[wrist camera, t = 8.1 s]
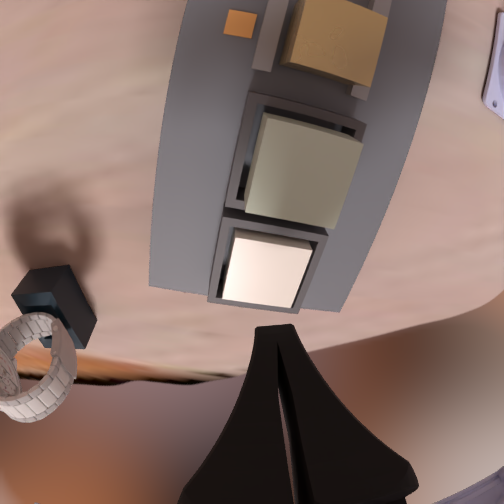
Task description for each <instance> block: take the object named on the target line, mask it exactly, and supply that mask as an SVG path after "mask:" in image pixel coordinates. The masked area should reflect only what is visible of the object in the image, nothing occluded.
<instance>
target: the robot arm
mask: <svg viewBox="0 0 504 504" xmlns="http://www.w3.org/2000/svg"><path fill="white" fill-rule="evenodd" d="M493 102H494V103H493ZM483 103H484V105H485V106H486V107H487V108H489V109H490V110H492V111H493V112H494V113H496V114H497V115H498V116H500V117H501V118H502V119H504V12H499V13H498V18H497V26H496V34H495V40H494V47H493V52H492V58H491V63H490V68H489V73H488V77H487V82H486V86H485V90H484V94H483ZM492 103H493V104H492ZM278 389H279V394H280V398H281V403H282V408H283V413H284V418H285V422H286V427H287V431H288V438H289V443H290V454H291V465H292V475H293V486H294V498H295V504H407V503H406V499H405V497H406V496H408V495H409V494H411V493H412V492H414V491H415V490H417V489H418V487H419V484H418V480H417V477H416V475H415V473H414V470H413V468H412V466H411V465H410V463H409V462H408V461H407V460H405V459H404V458H403V457H401V456H400V455H398V454H397V453H396V452H394V451H393V450H392V449H390V448H389V447H388V446H387V445H385V444H384V443H383V442H382V441H380V440H379V439H378V438H377V437H376V436H374V435H373V434H372V433H371V432H370V431H369V430H368V429H367V428H366V427H365V426H364V425H363V424H362V423H361V422H360V421H359V420H357V418H356V417H355V416H354V415H353V414H352V413H351V412H350V411H349V410H348V409H347V408H346V407H345V405H344V404H343V403H342V402H341V401H340V400H339V398H338V397H337V396H336V395H335V393H334V392H333V391H332V390H331V388H330V387H329V385H328V384H327V383H326V381H325V380H324V379H323V377H322V376H321V374H320V373H319V371H318V370H317V368H316V367H315V365H314V363H313V362H312V360H311V359H310V357H309V355H308V354H307V352H306V350H305V348H304V346H303V344H302V343H301V341H300V339H299V336H298V334H297V332H296V330H295V327H294V325H292V324H283V325H272V326H259V327H257V328H255V337H254V345H253V351H252V355H251V360H250V363H249V367H248V370H247V374H246V377H245V380H244V383H243V386H242V388H241V391H240V394H239V397H238V399H237V401H236V404H235V406H234V409H233V411H232V413H231V415H230V417H229V419H228V421H227V423H226V425H225V427H224V429H223V431H222V433H221V435H220V436H219V438H218V440H217V441H216V443H215V445H214V446H213V448H212V450H211V451H210V453H209V454H208V456H207V457H206V459H205V460H204V462H203V463H202V465H201V466H200V467H199V469H198V470H197V471H196V473H195V474H194V475H193V477H192V478H191V479H190V480H189V482H188V483H187V484H186V485H185V487H184V488H183V491H182V493H181V495H180V498H179V500H178V503H177V504H294V502H293V496H292V490H291V484H290V477H289V471H288V464H287V457H286V450H285V444H284V437H283V429H282V422H281V415H280V406H279V399H278ZM34 504H39V503H34ZM433 504H504V466H503V467H502V468H500V469H499V470H498V471H497V472H495V473H493V474H492V475H490V476H488V477H486V478H485V479H483V480H481V481H479V482H477V483H475V484H474V485H472V486H470V487H468V488H466V489H464V490H462V491H460V492H458V493H455V494H453V495H451V496H449V497H447V498H445V499H442V500H440V501H438V502H436V503H433Z"/></svg>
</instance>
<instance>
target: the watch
mask: <svg viewBox="0 0 504 504" xmlns="http://www.w3.org/2000/svg"><path fill="white" fill-rule="evenodd" d="M11 296H12V298H13V299H14V301H15V303H16V304H17V306H18V308H19V309H20V311H21V313H22V314H23V315H22V316H20V317H18V318H16V319H14V320H12V321H11V323H10V322H9V323H8V324H6V325H5V326H4V327H2V329H1V330H0V411H4V412H5V413H6V414H7V415H8V416H9V417H10V418H12V419H13V420H16V421H19V422H34V421H37V419H38V420H40V419H42V418H44V417H46V416H48V414H50V413H52V412H53V411H54V410H55V409H56V408H57V407H58V406H57V405H60V404H61V403H62V402H63V401H64V399H65V398H66V395H68V393H69V391H70V389H71V385H72V384H73V379H76V375H77V356H76V351H75V349H85V348H86V346H87V343H88V341H89V339H90V336H91V334H92V331H93V329H94V327H95V324H96V322H97V320H96V318H95V316H94V314H93V312H92V310H91V308H90V307H89V305H88V303H87V301H86V299H85V297H84V295H83V293H82V291H81V289H80V287H79V285H78V283H77V281H76V278H75V276H74V274H73V272H72V270H71V268H70V266H69V265H64V266H57V267H49V268H42V269H35V270H29V272H28V273H27V274H26V276H25V277H24V278H23V279H22V281H21V282H20V283H19V285H18V286H17V287H16V289H15V290H14V292H13V293H12V294H11ZM11 324H12V325H11ZM2 330H3V331H2ZM8 332H9V333H8ZM9 334H10V335H11V336H10V335H9ZM23 335H24V336H23ZM11 337H12V338H13V339H12V338H11ZM37 338H38V339H39V340H40V342H41V343H42V344H43V346H44V347H45V348H51V353H50V354H51V356H52V357H53V358H52V362H51V365H50V369H49V371H48V372H47V374H48V375H45V376H44V378H43V379H42V380H41V381H40V382H39V385H35V386H34V387H33V388H31V389H29V390H28V392H24V393H22V387H21V383H20V380H19V376H18V373H17V360H16V359H15V358H13V357H14V356H15V355H16V354H17V351H19V350H21V349H22V348H23V347H24V346H25V344H28V343H30V342H31V341H33V339H34V340H35V339H37ZM14 341H15V342H16V343H15V342H14ZM24 343H25V344H24ZM15 348H16V349H15ZM47 387H48V388H49V389H48V388H47ZM65 394H66V395H65ZM55 396H56V397H55Z"/></svg>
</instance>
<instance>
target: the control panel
mask: <svg viewBox="0 0 504 504" xmlns="http://www.w3.org/2000/svg"><path fill="white" fill-rule="evenodd" d="M347 1H349V2H352V3H354V4H357V5H360V6H362V7H364V8H367V9H369V10H372V11H374V12H376V13H379V14H381V15H383V16H385V17H387V18H388V20H387V25H386V29H385V33H384V37H383V41H382V45H381V49H380V53H379V57H378V61H377V65H376V69H375V72H374V76H373V80H372V83H371V87H364V86H357V85H349V84H343V83H340V82H337V81H334V80H331V79H328V78H324V77H321V76H318V75H314V74H311V73H307V72H304V71H300V70H297V69H293V68H289V67H285V66H281V65H279V62H280V58H281V54H282V50H283V46H284V42H285V39H286V35H287V31H288V27H289V23H290V19H291V15H292V12H293V8H294V5H295V4H296V3H297V2H298V0H188V1H187V5H186V9H185V13H184V17H183V20H182V25H181V29H180V33H179V37H178V42H177V46H176V51H175V55H174V60H173V65H172V70H171V75H170V80H169V86H168V91H167V97H166V103H165V109H164V115H163V122H162V129H161V136H160V143H159V151H158V159H157V168H156V177H155V187H154V198H153V210H152V224H151V241H150V262H149V286H152V287H158V288H163V289H169V290H175V291H181V292H188V293H194V294H200V295H207V296H208V299H207V302H210V303H217V304H224V305H231V306H238V307H245V308H253V309H260V310H268V311H276V312H285V313H293V314H298V313H299V310H300V308H303V309H312V310H321V311H331V312H340V311H341V309H342V307H343V305H344V303H345V301H346V299H347V297H348V295H349V293H350V291H351V289H352V287H353V284H354V282H355V280H356V278H357V276H358V274H359V272H360V270H361V268H362V265H363V263H364V261H365V259H366V257H367V255H368V252H369V250H370V248H371V246H372V243H373V241H374V239H375V236H376V234H377V232H378V229H379V227H380V225H381V222H382V220H383V218H384V215H385V213H386V210H387V208H388V205H389V203H390V200H391V198H392V195H393V193H394V190H395V187H396V185H397V182H398V179H399V177H400V174H401V171H402V168H403V166H404V163H405V160H406V157H407V154H408V151H409V148H410V146H411V143H412V140H413V137H414V133H415V130H416V127H417V124H418V121H419V118H420V114H421V111H422V108H423V104H424V101H425V97H426V94H427V90H428V86H429V83H430V79H431V75H432V71H433V67H434V63H435V59H436V54H437V50H438V45H439V41H440V36H441V31H442V26H443V21H444V15H445V10H446V3H447V0H347ZM263 112H265V113H269V114H274V115H278V116H282V117H286V118H290V119H295V120H298V121H302V122H306V123H310V124H314V125H317V126H321V127H324V128H328V129H331V130H335V131H338V132H341V133H345V134H348V135H350V136H351V137H353V138H354V139H356V140H358V141H359V142H361V143H363V144H364V145H363V148H362V151H361V154H360V157H359V160H358V163H357V166H356V169H355V172H354V175H353V178H352V181H351V184H350V187H349V190H348V193H347V196H346V198H345V201H344V204H343V207H342V210H341V212H340V215H339V218H338V220H337V223H336V226H335V229H330V228H325V227H320V226H315V225H310V224H305V223H299V222H294V221H289V220H284V219H279V218H273V217H268V216H262V215H257V214H251V213H246V212H245V201H244V193H245V188H246V184H247V180H248V175H249V171H250V167H251V162H252V158H253V154H254V149H255V145H256V141H257V137H258V132H259V128H260V124H261V120H262V116H263ZM234 227H237V228H243V229H249V230H255V231H261V232H266V233H272V234H278V235H283V236H289V237H294V238H300V239H305V240H309V243H310V246H311V248H312V253H311V256H310V259H309V261H308V264H307V267H306V269H305V272H304V275H303V277H302V280H301V283H300V285H299V288H298V290H297V293H296V295H295V298H294V301H293V303H292V306H291V308H286V307H278V306H270V305H262V304H255V303H247V302H240V301H233V300H226V299H222V292H223V276H224V271H225V266H226V262H227V257H228V252H229V247H230V243H231V238H232V233H233V229H234Z"/></svg>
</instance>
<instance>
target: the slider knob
mask: <svg viewBox="0 0 504 504" xmlns="http://www.w3.org/2000/svg"><path fill="white" fill-rule="evenodd" d="M387 20H388V18H387V17H385V16H383V15H381V14H379V13H376V12H374V11H372V10H369V9H367V8H364V7H362V6H360V5H357V4H354V3H352V2H349V1H347V0H298V2H297V3H296V4H295V5H294V8H293V12H292V15H291V19H290V23H289V27H288V31H287V35H286V39H285V42H284V46H283V50H282V54H281V58H280V62H279V65H281V66H285V67H289V68H293V69H297V70H300V71H304V72H307V73H311V74H314V75H318V76H321V77H324V78H328V79H331V80H334V81H337V82H340V83H343V84H349V85H357V86H364V87H371V83H372V80H373V76H374V72H375V69H376V65H377V61H378V57H379V53H380V49H381V45H382V41H383V37H384V33H385V29H386V25H387Z"/></svg>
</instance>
